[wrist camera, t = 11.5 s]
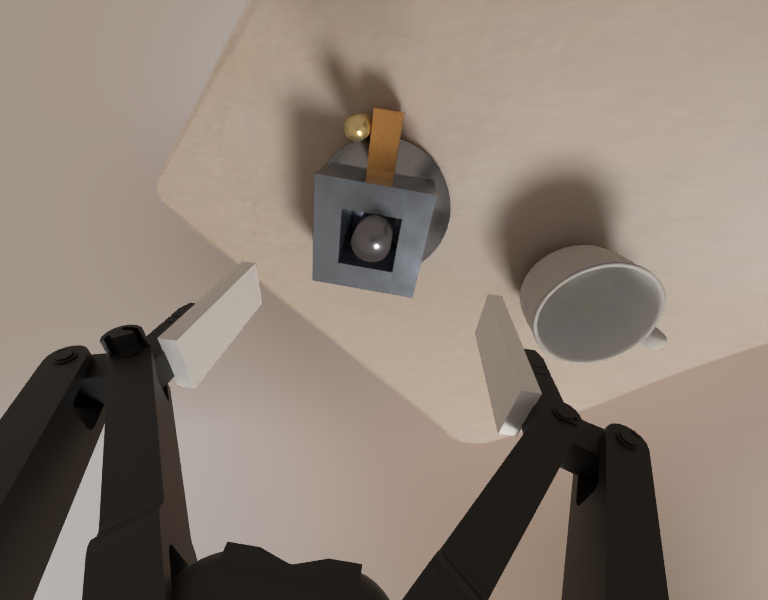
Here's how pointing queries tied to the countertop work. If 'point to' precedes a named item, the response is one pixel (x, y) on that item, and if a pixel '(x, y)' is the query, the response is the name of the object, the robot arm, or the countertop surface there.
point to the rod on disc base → (381, 232)
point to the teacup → (592, 304)
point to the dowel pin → (358, 126)
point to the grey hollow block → (376, 196)
